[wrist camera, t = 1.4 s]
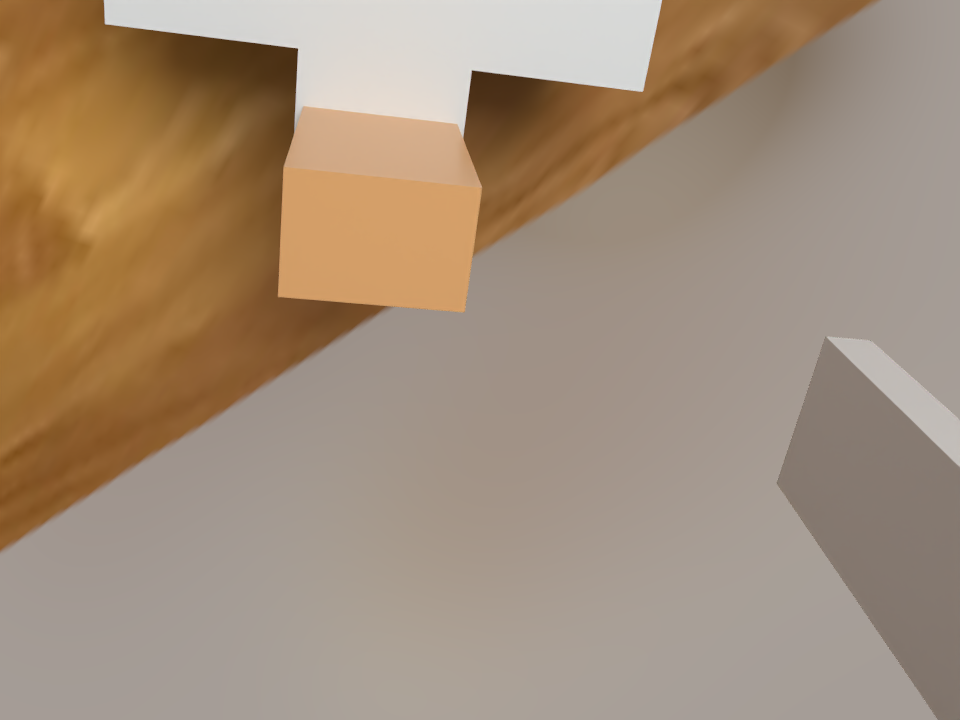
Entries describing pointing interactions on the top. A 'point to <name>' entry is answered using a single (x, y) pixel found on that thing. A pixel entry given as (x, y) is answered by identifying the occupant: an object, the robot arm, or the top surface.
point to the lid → (400, 121)
